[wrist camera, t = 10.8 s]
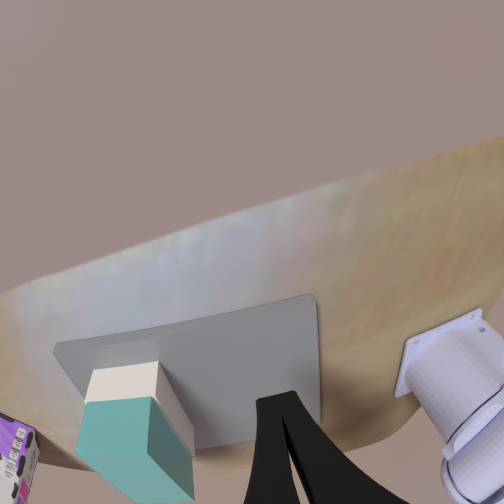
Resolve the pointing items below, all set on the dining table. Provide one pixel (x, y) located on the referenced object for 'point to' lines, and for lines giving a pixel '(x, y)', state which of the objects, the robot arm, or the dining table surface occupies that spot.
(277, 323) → the baseplate
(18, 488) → the candy box
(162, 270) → the dining table surface
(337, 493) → the robot arm
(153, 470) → the teal brick
